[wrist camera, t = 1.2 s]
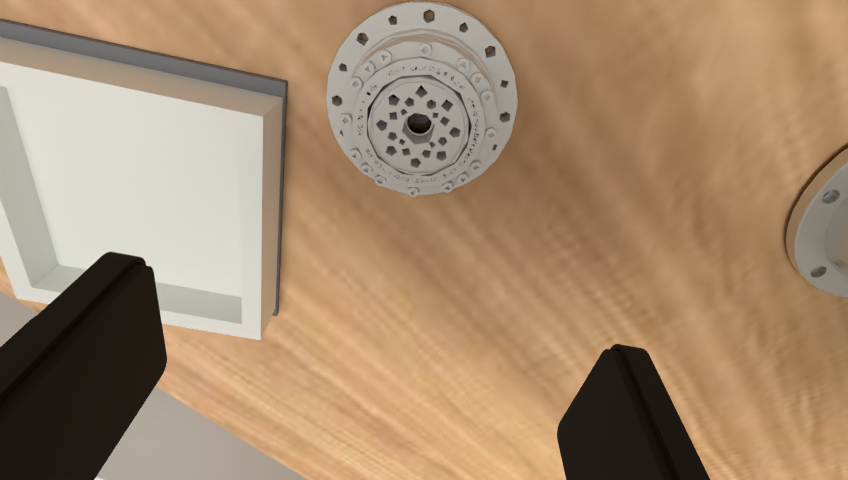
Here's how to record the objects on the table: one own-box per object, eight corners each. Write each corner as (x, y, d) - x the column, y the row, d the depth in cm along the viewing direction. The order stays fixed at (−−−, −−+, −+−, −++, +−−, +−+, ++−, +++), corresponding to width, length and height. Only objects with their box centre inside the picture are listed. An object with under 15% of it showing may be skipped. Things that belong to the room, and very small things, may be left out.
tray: (282, 97, 25) (263, 116, 22) (275, 307, 33) (260, 340, 30) (-20, 32, 23) (-80, 44, 21) (52, 268, 32) (16, 298, 29)
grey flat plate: (287, 81, 24) (285, 83, 24) (278, 312, 34) (276, 316, 33) (-20, 14, 23) (-27, 15, 23) (58, 273, 33) (54, 276, 32)
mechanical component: (550, 113, 25) (435, -51, 21) (567, 143, 21) (433, -49, 18) (413, 212, 29) (293, 88, 25) (408, 252, 25) (267, 114, 21)
